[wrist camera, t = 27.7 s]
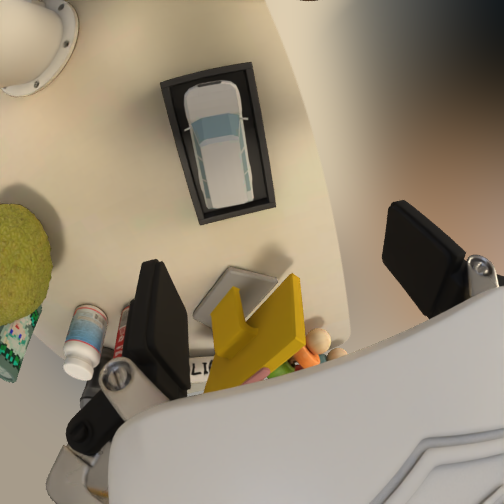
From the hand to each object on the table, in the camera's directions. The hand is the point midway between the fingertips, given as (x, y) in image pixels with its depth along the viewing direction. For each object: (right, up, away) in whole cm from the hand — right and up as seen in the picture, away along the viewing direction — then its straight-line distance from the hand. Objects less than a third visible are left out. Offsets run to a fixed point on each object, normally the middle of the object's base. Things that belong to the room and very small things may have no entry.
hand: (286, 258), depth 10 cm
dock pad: (-5, +12, +17) cm, 21 cm away
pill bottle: (-28, -10, +28) cm, 41 cm away
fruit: (-34, +2, +18) cm, 38 cm away
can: (-40, -8, +24) cm, 48 cm away
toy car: (-5, +12, +16) cm, 21 cm away
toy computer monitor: (-4, -7, +30) cm, 31 cm away
